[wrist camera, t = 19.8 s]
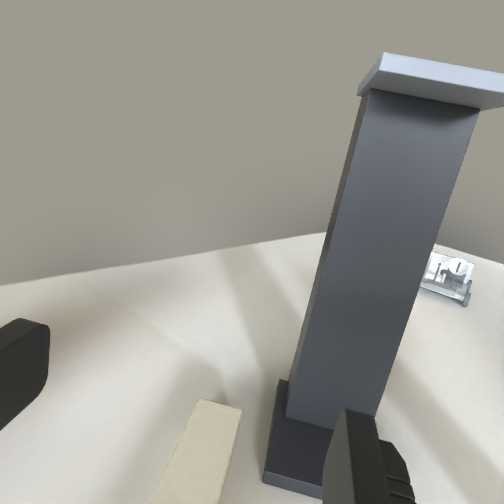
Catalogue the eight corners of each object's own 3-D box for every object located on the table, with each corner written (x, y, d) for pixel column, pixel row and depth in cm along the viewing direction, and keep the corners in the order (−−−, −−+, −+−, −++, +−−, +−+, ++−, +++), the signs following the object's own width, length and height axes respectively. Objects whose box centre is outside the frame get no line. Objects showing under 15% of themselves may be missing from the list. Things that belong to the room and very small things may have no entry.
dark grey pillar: (262, 482, 32) (374, 49, 23) (277, 387, 44) (353, 82, 35) (387, 518, 31) (556, 82, 22) (366, 411, 43) (469, 104, 34)
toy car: (482, 267, 78) (421, 249, 83) (465, 312, 81) (407, 292, 86) (482, 252, 94) (431, 238, 99) (468, 290, 97) (418, 274, 102)
